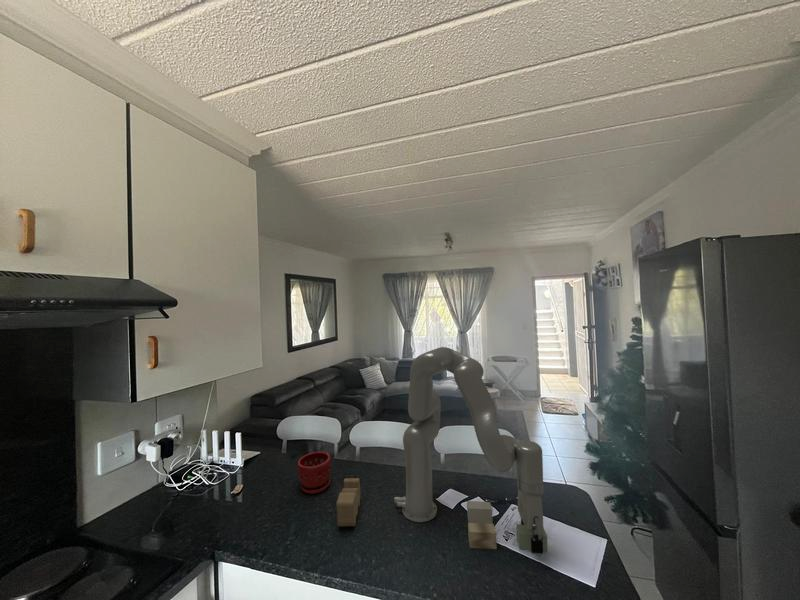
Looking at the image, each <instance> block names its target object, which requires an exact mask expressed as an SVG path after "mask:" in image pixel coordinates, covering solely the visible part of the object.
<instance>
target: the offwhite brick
mask: <svg viewBox="0 0 800 600" xmlns="http://www.w3.org/2000/svg"><path fill="white" fill-rule="evenodd" d="M466 505H467V506H466V509H467V510H466V511H467V520H468V522H467V523H487V524H493V508H492V504H491V502H490V501H475V500H473V501H472V500H467V501H466Z"/></svg>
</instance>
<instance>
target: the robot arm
mask: <svg viewBox="0 0 800 600" xmlns="http://www.w3.org/2000/svg"><path fill="white" fill-rule="evenodd" d="M445 371H447V372H449V373H452V374H453V378H454V381H455V384H456V386H457V388H458V389H459V392H460V394H461V396H462V398H463V400H464V401H465V404H466V406H467V408H468V411H469V412H470V416H471V420H472V424H473V428H474V432H475V436H476V438H477V441H478V444H479V447H480V449H481V451H482V453H483V456H484V457H485V459H486V460H487V462H488V464H489V465H490V466H491V468H492V469H494V470H495V471H497V472H499V473H506V472H509V471H510V470H512V468H513V466H514V463H516V486H517V488H516V489H517V511H518V513H519V516H520V525H525V527H526V528H527V529H528V530H529V529H531V535H532V538H531V551H530V552H531V553H532V554H543V553H544V552H543V531H542V529H543V527H544V511H543V501H542V500H543V499H542V495H543V494H544V472H543V471H544V468H543V467H544V465H543V462H544V461H543V460H544V459H543V448H542V447H541V445H540V444H539V443H536V441H532V440H522V439H519V438H516V437H513V436H511V435H507V434H501V433H500V430H499V426H498V421H497V412H496V411H497V409H496V408H497V407H496V405H495V401H494V399H493V398H492V395H491V393H490V391H489V389H488V388H487V386H486V384H485V382H484V380H483V376H484V368H483V365H482V364H481V363H480V362H479V361H478V360H476V359H474V358H472V357H470V356H469V355H466V354H463V353H461V352H459V351H457V350H454V349H452V348H449V347H446V346H441V347H440V346H439V347H438V348H434V349H431V350H428V351H426V352H424V353H421V354H419V355H418V356H417V357H415V358H414V359H413V361H412V363H411V365H410V371H409V387H408V401H407V403H408V404H407V411H408V415H409V417H410V419H411V420H413V421H414V422H413V421H412V423H411V424H410V425H409V426H408V427H406V429H405V431H404V433H403V435H402V444H403V449H404V459H405V487H406V489H405V495H403V496H394V499H393V500H394V503H395V504H396V507H399V508H400V507H402V509H401V510H402V511H401V512H402V514H403V516H404V517H405V518H406V519H408V520H409V521H410V522H414V523H425V522H426V523H427V522H429V521H431V520H433V519H434V518H435V517H436V516H437V514H438V507H437V505H436V503H435V502H434V501H433V468H432V467H433V466H432V465H433V464H432V457H431V452H430V445H431V444H432V443H433V441H434V440H435V439H436V438H437V437H438V435H439V432H440V425H441V408H442V403H441V398H440V396H439V393H438V392H437V391H436V390H434V389H433V387H434V383H433V382H434V381H433V376H435V375H439V374H441V373H443V372H445ZM533 526H536V527H533ZM533 530H537V534H536V535H534V531H533Z"/></svg>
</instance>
